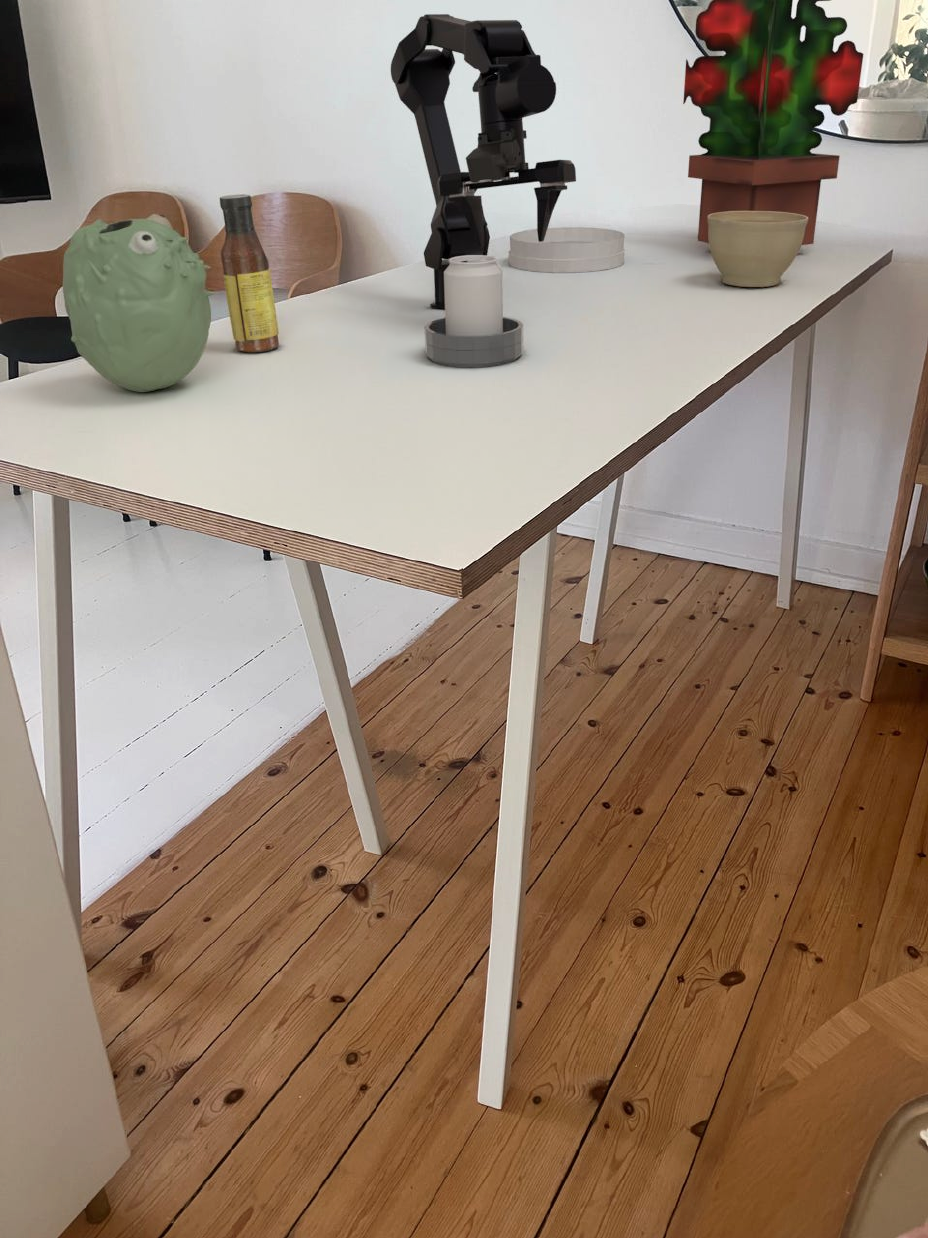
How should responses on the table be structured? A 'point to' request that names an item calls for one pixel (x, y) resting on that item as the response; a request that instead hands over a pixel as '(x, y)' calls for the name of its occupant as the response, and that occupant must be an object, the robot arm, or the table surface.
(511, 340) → the pan
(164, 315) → the green pufferfish figure
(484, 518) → the table surface
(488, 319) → the can
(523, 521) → the table surface
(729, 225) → the planter bowl
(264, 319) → the sauce bottle
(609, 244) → the dish
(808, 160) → the potted plant
